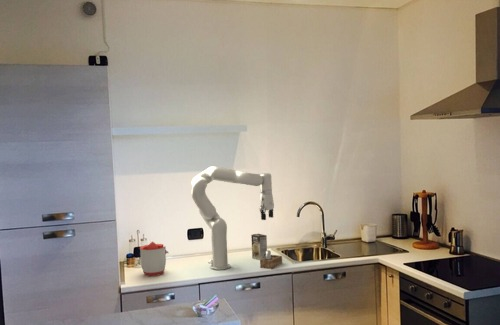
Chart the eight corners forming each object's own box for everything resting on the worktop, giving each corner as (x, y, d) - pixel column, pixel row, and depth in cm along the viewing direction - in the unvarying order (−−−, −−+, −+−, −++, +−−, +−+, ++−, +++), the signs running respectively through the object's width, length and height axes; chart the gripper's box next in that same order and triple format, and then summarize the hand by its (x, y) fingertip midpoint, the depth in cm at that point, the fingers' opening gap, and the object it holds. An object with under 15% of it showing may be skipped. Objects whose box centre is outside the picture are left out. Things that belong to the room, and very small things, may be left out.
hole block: (260, 267, 291) (260, 259, 291) (271, 262, 303) (270, 254, 303) (271, 269, 287) (271, 260, 287) (282, 263, 299) (281, 255, 299)
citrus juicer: (172, 274, 285) (170, 241, 284) (143, 278, 278) (141, 245, 277) (166, 268, 299) (164, 237, 298) (139, 272, 292) (137, 241, 292)
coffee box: (251, 258, 316) (250, 234, 316) (259, 256, 320) (258, 233, 319) (260, 260, 309) (259, 236, 308) (267, 258, 313) (266, 234, 312)
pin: (265, 267, 292) (264, 251, 291) (267, 266, 294) (267, 250, 294) (269, 267, 290) (269, 251, 290) (272, 266, 293) (271, 250, 292)
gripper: (264, 194, 294) (265, 221, 294) (277, 191, 309) (278, 216, 309) (254, 193, 298) (255, 220, 298) (267, 190, 312) (268, 216, 313)
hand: (267, 218), depth 304 cm, fingers open, 9 cm apart
